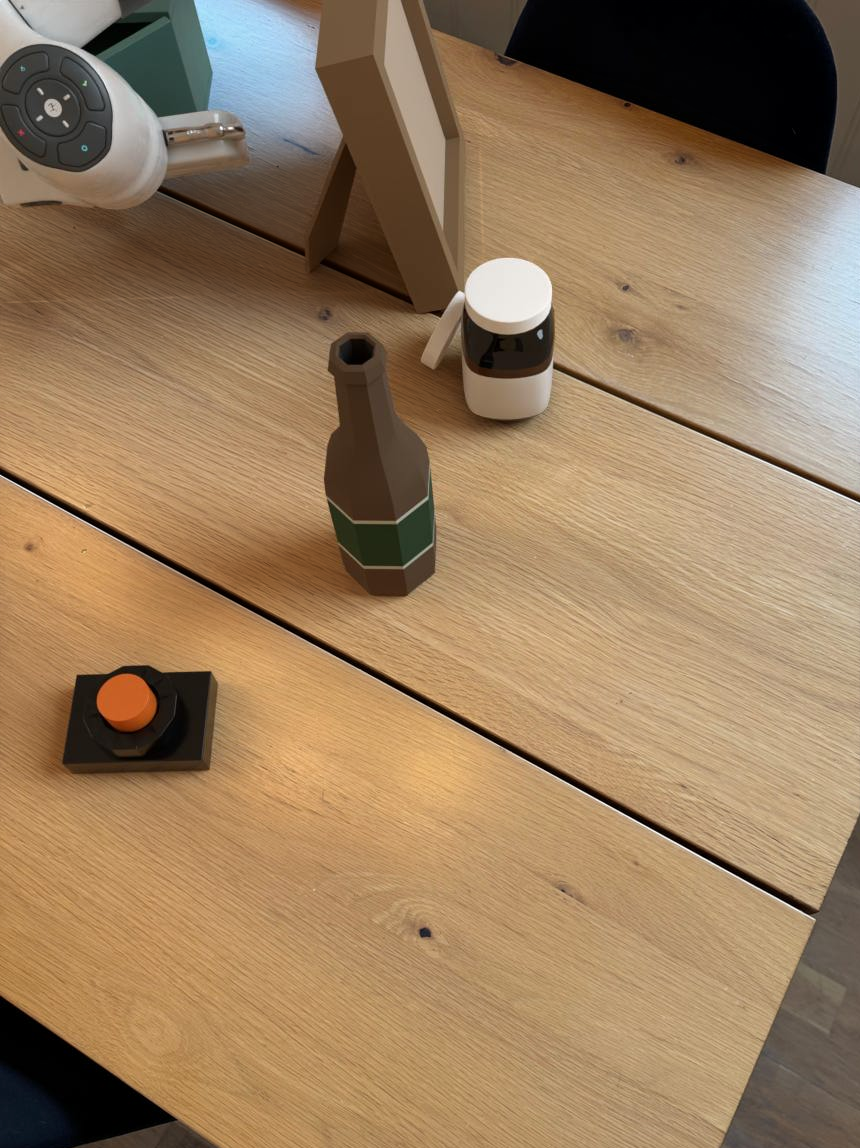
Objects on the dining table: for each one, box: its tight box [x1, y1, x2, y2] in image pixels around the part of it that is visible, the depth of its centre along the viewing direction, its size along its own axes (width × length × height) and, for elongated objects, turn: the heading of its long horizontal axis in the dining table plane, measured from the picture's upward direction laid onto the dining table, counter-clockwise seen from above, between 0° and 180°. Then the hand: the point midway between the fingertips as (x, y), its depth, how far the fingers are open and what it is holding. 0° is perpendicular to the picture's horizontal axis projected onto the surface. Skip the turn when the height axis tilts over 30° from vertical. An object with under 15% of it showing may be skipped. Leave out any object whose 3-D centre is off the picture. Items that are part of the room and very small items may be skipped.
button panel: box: [61, 664, 219, 775], centre depth 76 cm, size 10×7×4 cm
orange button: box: [97, 674, 157, 732], centre depth 74 cm, size 4×4×2 cm
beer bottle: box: [323, 331, 437, 596], centre depth 73 cm, size 8×8×24 cm
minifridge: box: [80, 0, 214, 112], centre depth 104 cm, size 10×13×13 cm
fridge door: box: [95, 16, 197, 117], centre depth 98 cm, size 7×13×13 cm, turn 136°
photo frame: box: [304, 0, 466, 315], centre depth 90 cm, size 15×22×25 cm
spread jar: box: [420, 257, 556, 422], centre depth 87 cm, size 12×11×12 cm
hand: (138, 168), depth 93 cm, fingers open, 8 cm apart
